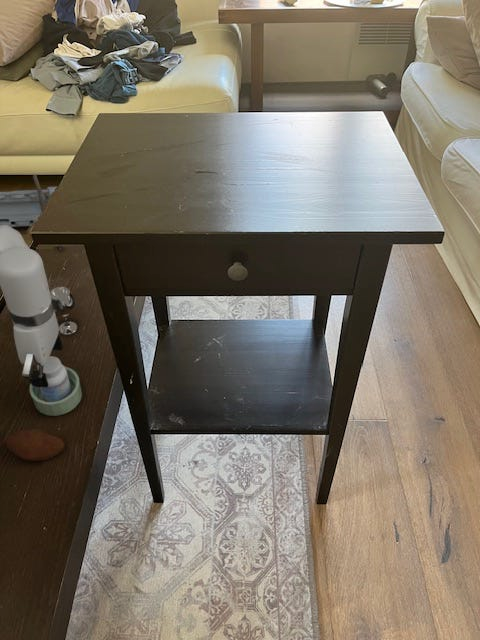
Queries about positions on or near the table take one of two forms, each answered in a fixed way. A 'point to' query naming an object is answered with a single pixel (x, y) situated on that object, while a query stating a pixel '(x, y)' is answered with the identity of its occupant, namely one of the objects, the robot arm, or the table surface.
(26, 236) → the potato
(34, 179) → the natural artifact
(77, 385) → the dish
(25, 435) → the potato
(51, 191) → the toy train
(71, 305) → the wineglass
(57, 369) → the pill bottle
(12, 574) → the table surface
